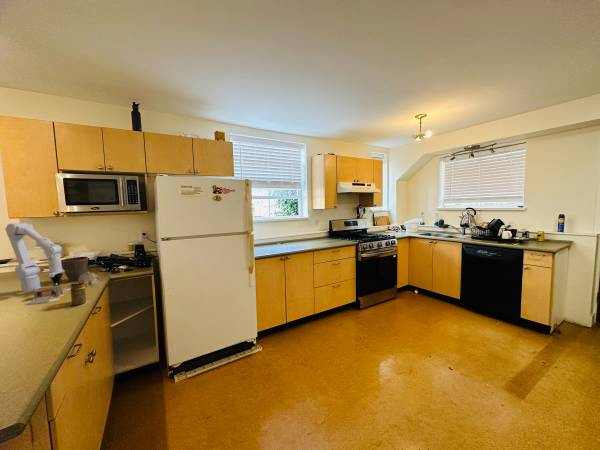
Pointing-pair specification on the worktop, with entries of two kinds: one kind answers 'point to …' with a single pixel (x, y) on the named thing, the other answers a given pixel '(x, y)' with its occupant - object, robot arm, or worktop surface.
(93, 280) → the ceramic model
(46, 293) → the block
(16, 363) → the worktop surface
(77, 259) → the plant pot
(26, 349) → the worktop surface
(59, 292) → the tunnel deck
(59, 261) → the robot arm
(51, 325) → the worktop surface
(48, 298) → the slider frame
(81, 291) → the condiment
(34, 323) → the worktop surface
